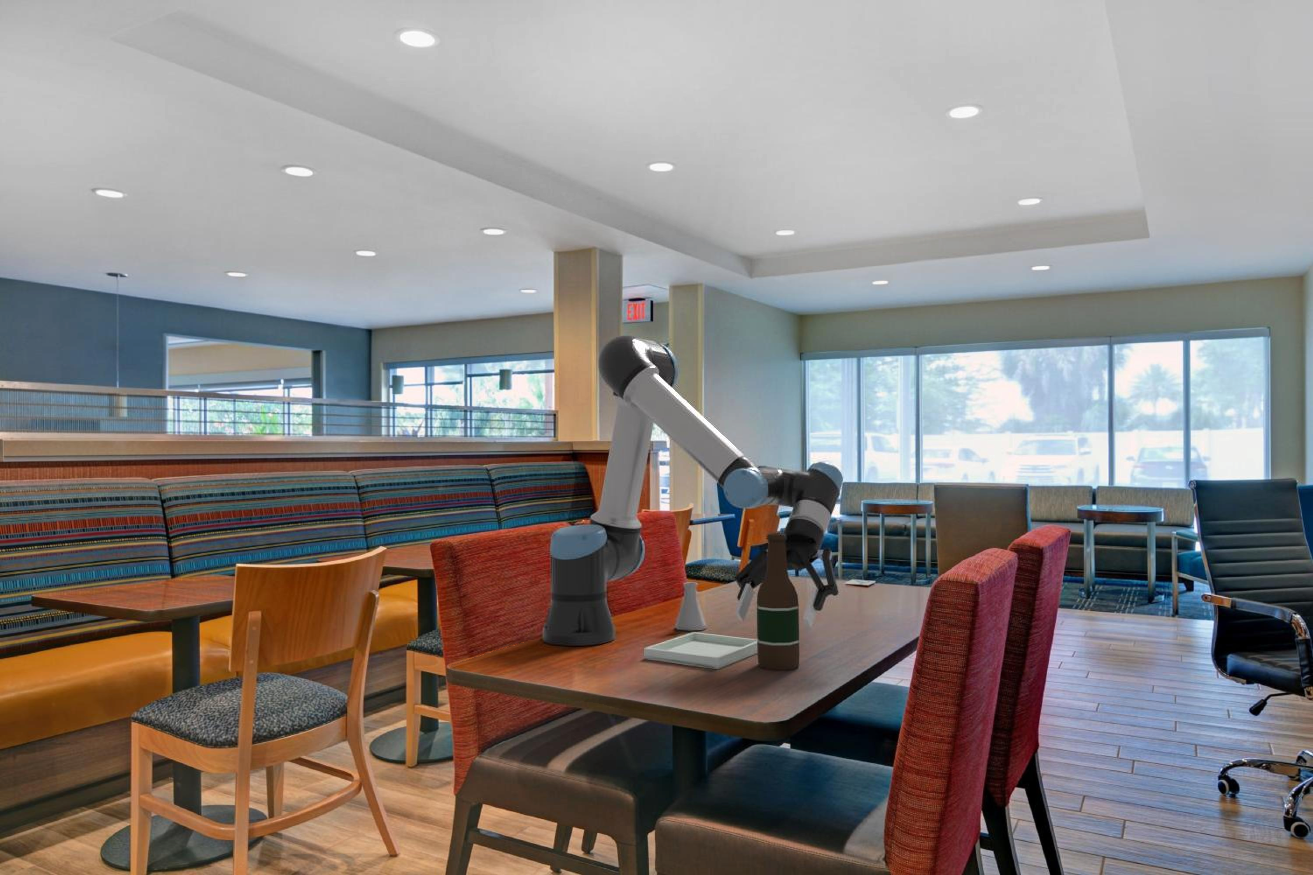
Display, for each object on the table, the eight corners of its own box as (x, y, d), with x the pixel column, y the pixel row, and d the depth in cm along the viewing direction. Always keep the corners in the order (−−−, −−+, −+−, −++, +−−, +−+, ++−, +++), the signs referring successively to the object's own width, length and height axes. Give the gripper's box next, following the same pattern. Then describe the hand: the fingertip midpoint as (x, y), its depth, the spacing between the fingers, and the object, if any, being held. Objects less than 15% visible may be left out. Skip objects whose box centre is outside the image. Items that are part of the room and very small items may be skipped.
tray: (644, 658, 168) (644, 648, 168) (693, 641, 183) (693, 631, 183) (718, 669, 160) (717, 658, 160) (763, 650, 175) (763, 640, 175)
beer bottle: (751, 668, 160) (749, 534, 160) (763, 659, 167) (761, 530, 167) (794, 672, 157) (792, 535, 157) (804, 662, 164) (802, 531, 164)
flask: (707, 625, 201) (707, 581, 201) (706, 631, 194) (706, 585, 194) (675, 625, 202) (675, 580, 202) (673, 631, 195) (672, 585, 195)
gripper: (872, 544, 168) (843, 639, 155) (755, 539, 182) (719, 625, 169) (862, 518, 164) (831, 613, 151) (742, 514, 178) (704, 601, 165)
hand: (772, 619), depth 160 cm, fingers open, 13 cm apart
